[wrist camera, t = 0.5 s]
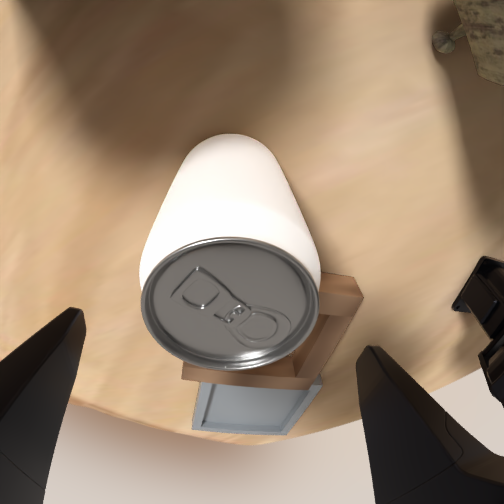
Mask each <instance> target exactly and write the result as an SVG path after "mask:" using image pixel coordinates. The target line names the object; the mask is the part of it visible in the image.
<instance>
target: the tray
mask: <svg viewBox="0 0 504 504" xmlns="http://www.w3.org/2000/svg"><path fill="white" fill-rule="evenodd" d="M322 386H323V384H322V380H321V376H320V374H319V375H318V376H317V378H316V379H315V381H314V382H313V384H312V385H311V387H310V388H309V390H286V389H269V388H255V387H243V386H232V385H222V384H214V383H205V382H200V385H199V390H198V394H197V399H196V404H195V409H194V413H193V418H192V430H201V431H211V432H222V433H236V434H255V435H287V434H288V432H289V431H290V430H291V428H292V427H293V426H294V424H295V423H296V422H297V421H298V419H299V418H300V417H301V415H302V414H303V412H304V411H305V410H306V408H307V407H308V406H309V404H310V403H311V402H312V400H313V399H314V397H315V396H316V395H317V393H318V392H319V390H320V389H321V387H322Z"/></svg>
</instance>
